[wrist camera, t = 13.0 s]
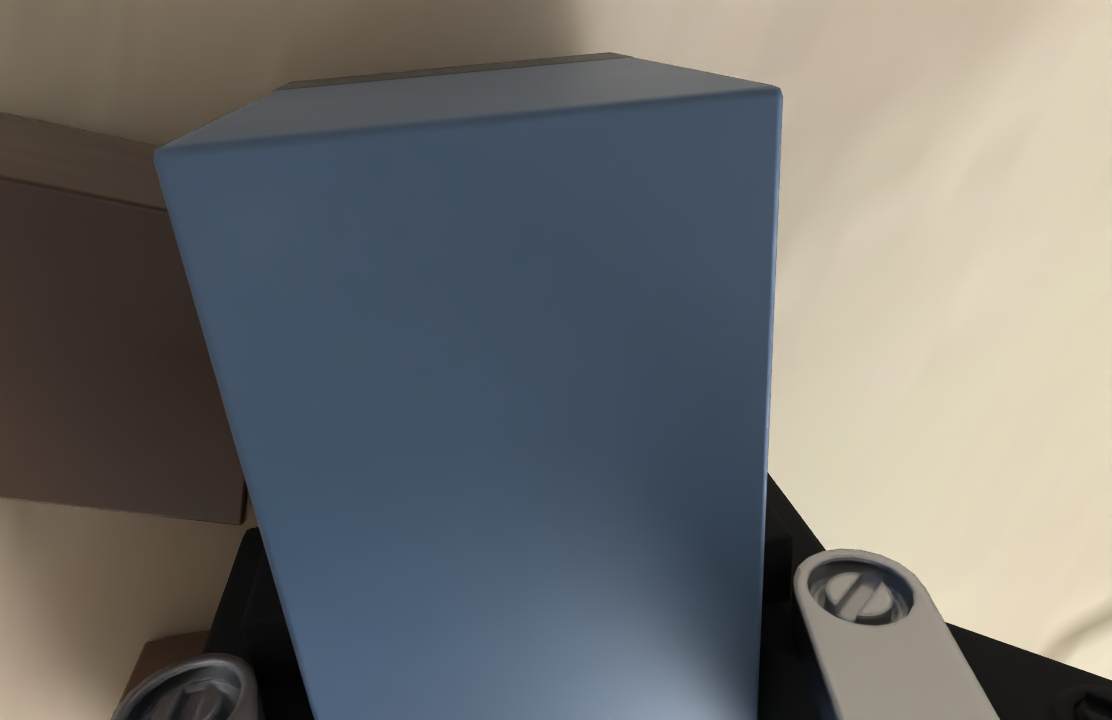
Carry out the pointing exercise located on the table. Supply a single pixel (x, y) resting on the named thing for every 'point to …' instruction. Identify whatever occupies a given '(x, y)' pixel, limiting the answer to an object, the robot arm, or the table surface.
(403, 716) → the blue rectangular block
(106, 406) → the brown wooden block
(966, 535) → the table surface
